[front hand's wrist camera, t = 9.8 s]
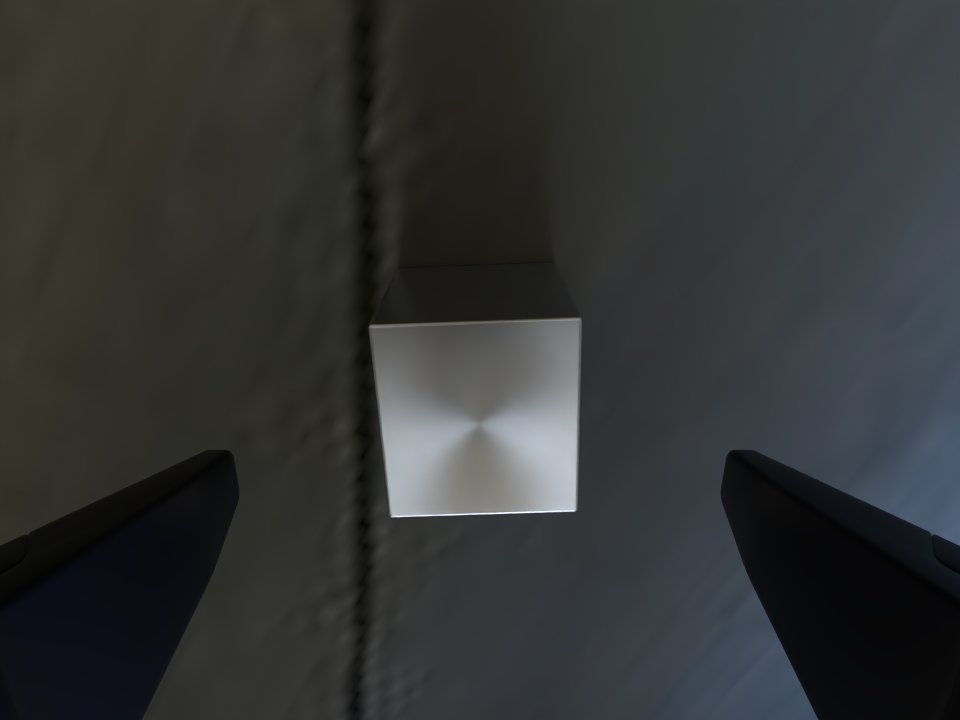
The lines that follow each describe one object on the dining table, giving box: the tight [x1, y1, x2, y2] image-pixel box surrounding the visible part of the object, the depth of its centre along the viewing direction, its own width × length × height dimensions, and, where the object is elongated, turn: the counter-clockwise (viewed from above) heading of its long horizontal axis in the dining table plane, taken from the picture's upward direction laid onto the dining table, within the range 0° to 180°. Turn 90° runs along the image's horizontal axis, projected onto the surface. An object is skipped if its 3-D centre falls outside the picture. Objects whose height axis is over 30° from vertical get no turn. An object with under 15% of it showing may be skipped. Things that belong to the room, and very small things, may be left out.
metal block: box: [368, 262, 582, 518], centre depth 15 cm, size 4×4×5 cm
